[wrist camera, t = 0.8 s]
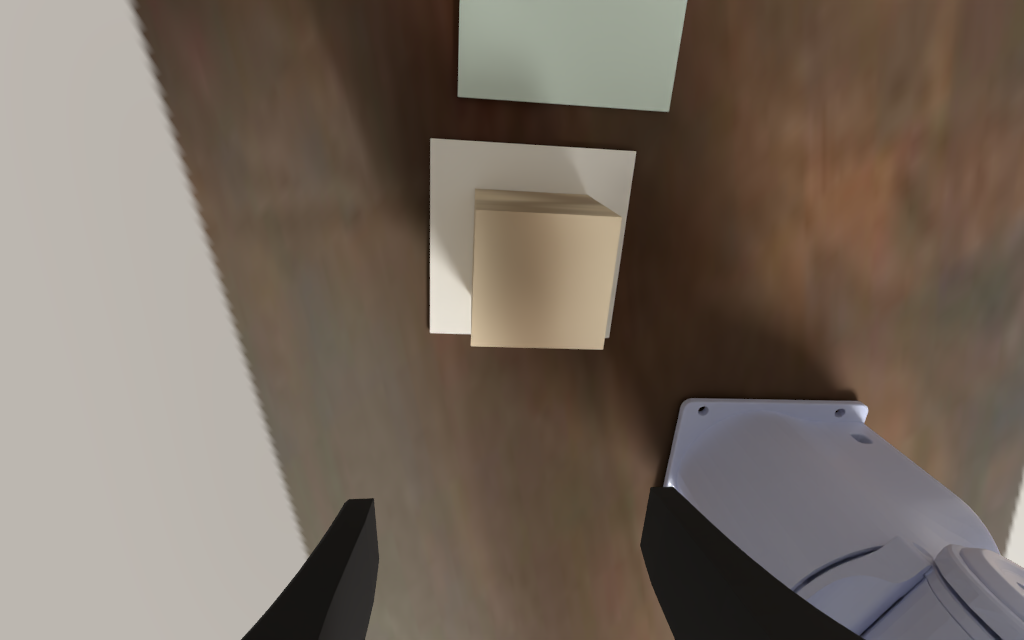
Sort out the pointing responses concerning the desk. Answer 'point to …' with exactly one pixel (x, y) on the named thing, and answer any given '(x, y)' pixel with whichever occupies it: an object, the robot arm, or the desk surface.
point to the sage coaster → (571, 51)
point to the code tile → (515, 170)
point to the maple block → (541, 269)
